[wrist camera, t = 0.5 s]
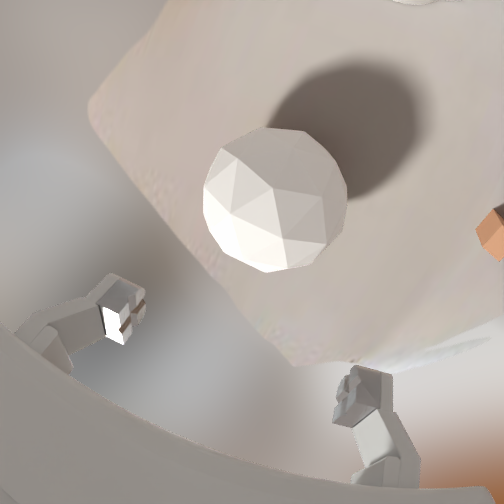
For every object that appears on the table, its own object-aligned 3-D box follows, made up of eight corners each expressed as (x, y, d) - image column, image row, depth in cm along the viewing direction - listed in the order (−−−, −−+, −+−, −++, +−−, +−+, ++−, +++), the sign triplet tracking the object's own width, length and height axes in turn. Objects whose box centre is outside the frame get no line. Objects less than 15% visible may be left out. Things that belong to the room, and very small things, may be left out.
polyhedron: (277, 171, 56) (179, 215, 49) (305, 85, 38) (171, 123, 31) (341, 252, 50) (242, 315, 43) (403, 181, 32) (269, 260, 26)
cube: (492, 208, 37) (502, 224, 33) (509, 224, 37) (518, 241, 33) (475, 229, 40) (482, 246, 37) (491, 243, 40) (499, 261, 37)
